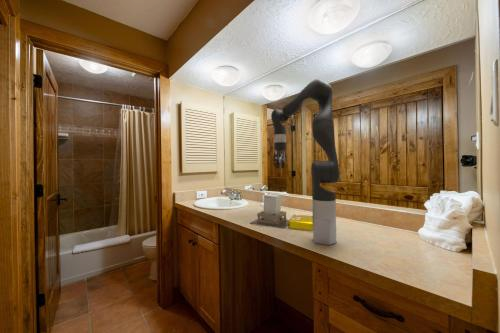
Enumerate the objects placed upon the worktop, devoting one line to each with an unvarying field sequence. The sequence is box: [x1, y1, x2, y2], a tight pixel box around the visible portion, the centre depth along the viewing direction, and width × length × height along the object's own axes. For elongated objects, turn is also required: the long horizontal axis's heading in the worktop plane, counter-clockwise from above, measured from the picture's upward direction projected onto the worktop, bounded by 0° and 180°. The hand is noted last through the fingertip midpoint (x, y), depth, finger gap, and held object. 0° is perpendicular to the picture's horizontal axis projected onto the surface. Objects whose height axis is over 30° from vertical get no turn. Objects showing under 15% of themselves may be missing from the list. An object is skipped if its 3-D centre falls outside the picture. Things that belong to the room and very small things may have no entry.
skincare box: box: [262, 193, 282, 222], centre depth 116 cm, size 8×6×15 cm
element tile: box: [288, 214, 313, 232], centre depth 108 cm, size 15×15×5 cm
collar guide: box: [249, 210, 289, 229], centre depth 116 cm, size 15×20×6 cm
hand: (280, 168), depth 128 cm, fingers open, 8 cm apart
